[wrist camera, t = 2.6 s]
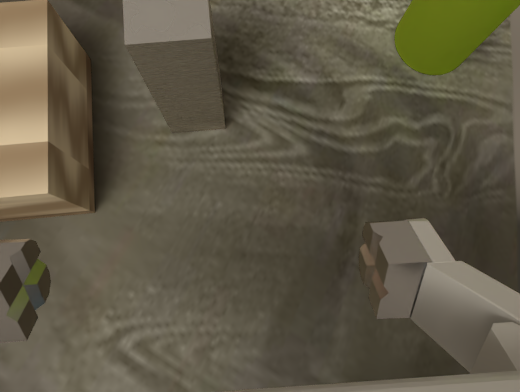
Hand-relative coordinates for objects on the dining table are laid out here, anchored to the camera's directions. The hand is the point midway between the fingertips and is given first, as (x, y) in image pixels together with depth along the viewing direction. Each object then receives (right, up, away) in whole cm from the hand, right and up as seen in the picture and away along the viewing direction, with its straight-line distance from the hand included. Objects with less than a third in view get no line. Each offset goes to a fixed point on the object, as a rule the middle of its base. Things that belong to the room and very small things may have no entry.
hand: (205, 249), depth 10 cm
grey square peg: (-3, +8, +21) cm, 23 cm away
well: (-17, +5, +20) cm, 27 cm away
